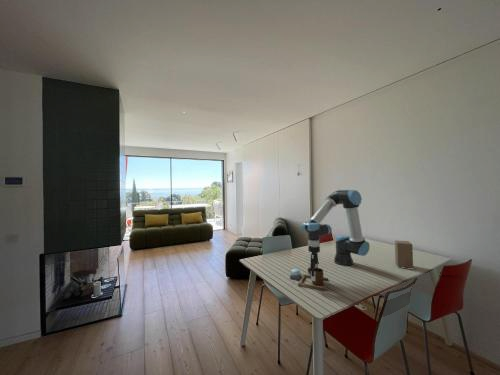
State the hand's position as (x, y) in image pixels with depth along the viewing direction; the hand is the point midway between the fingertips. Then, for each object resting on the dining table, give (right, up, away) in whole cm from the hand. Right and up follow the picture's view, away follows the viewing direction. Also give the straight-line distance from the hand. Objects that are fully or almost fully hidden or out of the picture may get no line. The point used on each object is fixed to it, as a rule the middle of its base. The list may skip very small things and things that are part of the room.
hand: (314, 276), depth 139 cm
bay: (0, -4, 0) cm, 4 cm away
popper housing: (-11, -5, +10) cm, 15 cm away
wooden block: (+82, -4, +27) cm, 86 cm away
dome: (-11, -3, +10) cm, 15 cm away
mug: (0, -5, +1) cm, 5 cm away
